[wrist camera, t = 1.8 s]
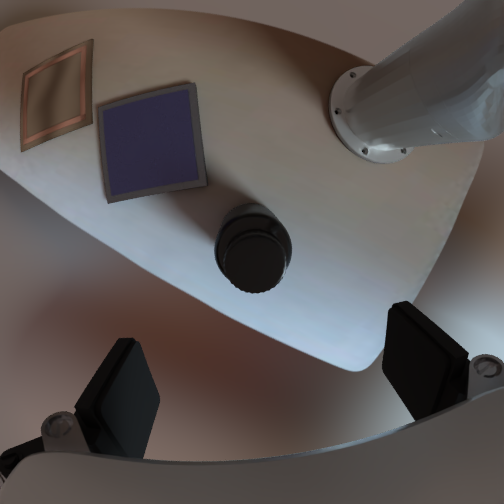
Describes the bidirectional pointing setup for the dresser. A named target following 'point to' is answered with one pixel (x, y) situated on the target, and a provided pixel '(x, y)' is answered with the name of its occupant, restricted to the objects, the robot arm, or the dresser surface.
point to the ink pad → (152, 143)
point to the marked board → (57, 96)
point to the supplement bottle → (252, 248)
